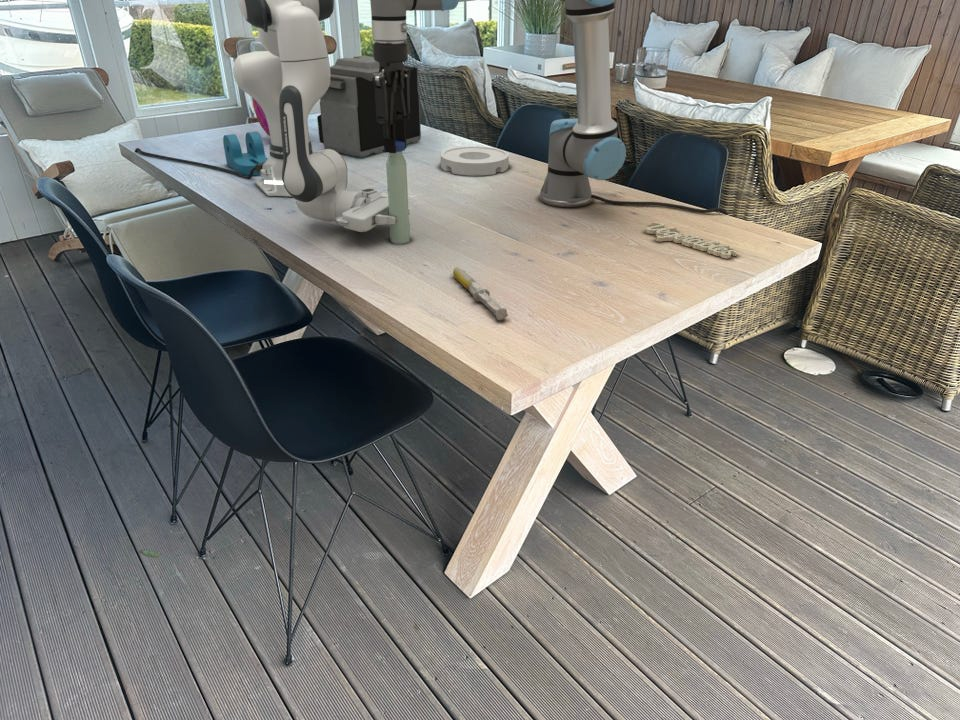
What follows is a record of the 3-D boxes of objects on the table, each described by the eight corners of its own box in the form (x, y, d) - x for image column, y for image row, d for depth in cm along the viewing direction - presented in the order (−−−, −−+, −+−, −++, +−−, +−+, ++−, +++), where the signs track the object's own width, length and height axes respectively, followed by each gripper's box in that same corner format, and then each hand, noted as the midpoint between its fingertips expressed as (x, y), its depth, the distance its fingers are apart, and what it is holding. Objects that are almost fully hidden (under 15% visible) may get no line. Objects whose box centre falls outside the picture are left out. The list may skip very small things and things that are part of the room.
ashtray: (443, 157, 245) (443, 145, 243) (508, 158, 244) (508, 146, 242) (437, 174, 225) (437, 162, 223) (508, 176, 224) (508, 163, 222)
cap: (398, 153, 159) (398, 146, 159) (382, 150, 161) (381, 143, 160) (408, 148, 163) (408, 142, 162) (392, 146, 165) (392, 140, 164)
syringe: (449, 274, 155) (449, 263, 153) (465, 272, 156) (464, 260, 154) (490, 323, 135) (491, 310, 133) (508, 319, 136) (508, 307, 134)
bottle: (397, 235, 176) (392, 142, 164) (413, 239, 174) (409, 144, 162) (386, 241, 172) (381, 146, 161) (403, 245, 171) (398, 148, 159)
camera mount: (227, 164, 233) (221, 132, 227) (257, 160, 238) (252, 129, 233) (244, 176, 220) (239, 143, 215) (276, 172, 225) (271, 139, 220)
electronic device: (383, 133, 276) (378, 52, 261) (425, 141, 265) (422, 56, 250) (314, 150, 251) (304, 61, 235) (358, 160, 240) (350, 67, 224)
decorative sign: (632, 229, 179) (655, 221, 185) (631, 232, 179) (654, 224, 185) (722, 258, 162) (744, 248, 168) (721, 262, 162) (743, 252, 168)
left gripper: (329, 208, 165) (379, 216, 160) (374, 186, 181) (421, 193, 176) (332, 233, 168) (380, 242, 163) (376, 209, 184) (421, 216, 179)
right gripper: (385, 46, 142) (391, 160, 154) (423, 38, 156) (426, 143, 168) (354, 44, 144) (362, 156, 156) (394, 37, 158) (399, 140, 170)
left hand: (402, 216), depth 170 cm, fingers closed on bottle, 5 cm apart
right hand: (395, 149), depth 162 cm, fingers closed on cap, 4 cm apart
